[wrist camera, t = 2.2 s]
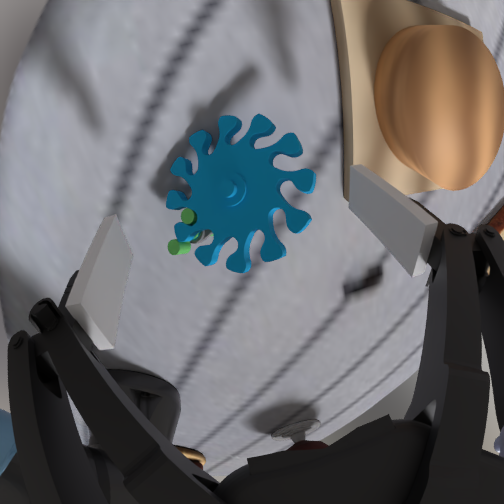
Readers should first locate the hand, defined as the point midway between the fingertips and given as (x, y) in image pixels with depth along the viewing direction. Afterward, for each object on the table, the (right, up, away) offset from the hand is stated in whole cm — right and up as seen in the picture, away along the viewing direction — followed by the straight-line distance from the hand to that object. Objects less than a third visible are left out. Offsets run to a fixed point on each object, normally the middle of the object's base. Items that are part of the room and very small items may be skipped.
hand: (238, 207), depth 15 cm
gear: (-2, +3, +6) cm, 7 cm away
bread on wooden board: (+16, +12, +4) cm, 20 cm away
